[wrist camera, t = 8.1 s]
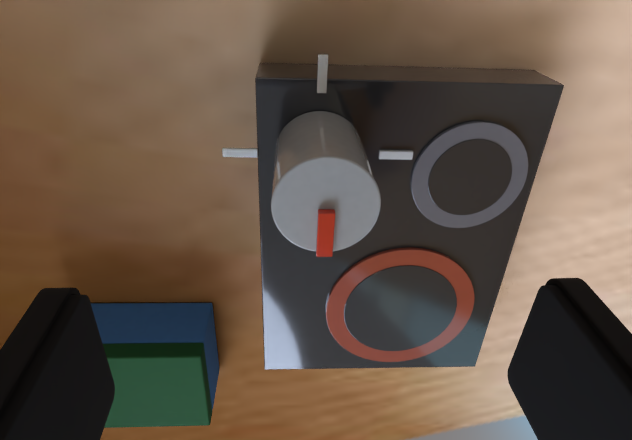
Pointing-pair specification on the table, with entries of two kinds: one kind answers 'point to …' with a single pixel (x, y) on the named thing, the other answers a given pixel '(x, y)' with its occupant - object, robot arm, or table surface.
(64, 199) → the table surface
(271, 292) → the hob
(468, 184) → the burner rings
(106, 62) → the table surface
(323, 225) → the hob knob
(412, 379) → the table surface
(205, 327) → the sponge
